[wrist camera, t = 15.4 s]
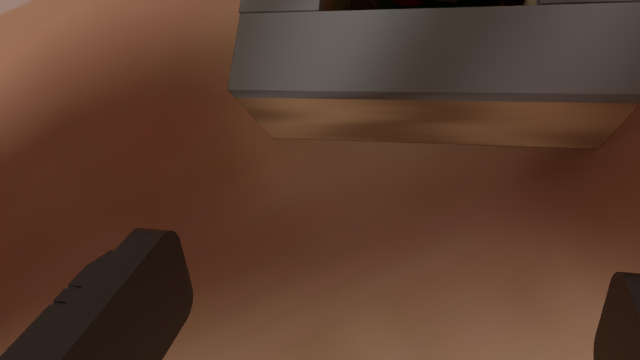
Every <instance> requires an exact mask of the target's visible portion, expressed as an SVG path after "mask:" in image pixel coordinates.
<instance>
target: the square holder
mask: <svg viewBox="0 0 640 360" xmlns="http://www.w3.org/2000/svg"><path fill="white" fill-rule="evenodd" d="M351 8H352V0H241V2H240V8H239V13H240V18H239V24H238V30H237V36H236V42H235V48H234V54H233V60H232V66H231V72H230V78H229V84H228V91H229V92H230V93H231V94H232V95H233V96H234V97H235V99H236V100H237V101H238V102H239V103H240V104H241V105H242V106H243V107H244V108H245V109H246V110H247V111H248V112H249V113H250V115H251V116H252V117H253V118H254V119H255V120H256V121H257V122H258V123H259V124H260V125H261V126H262V127H263V128H264V129H265V131H266V132H267V133H268V134H269V135H270V136H271V137H272V138H295V139H324V140H353V141H383V142H412V143H441V144H470V145H499V146H528V147H557V148H586V149H599V148H600V147H601V146H602V145H603V144H604V142H605V141H606V140H607V139H608V138H609V137H610V136H611V135H612V134H613V133H614V132H615V130H616V129H617V128H618V127H619V126H620V125H621V124H622V123H623V122H624V121H625V120H626V118H627V117H628V116H629V115H630V114H631V113H632V112H633V111H634V110H635V109H636V108H637V106H638V105H639V104H640V0H520V6H491V7H456V8H421V9H386V10H351Z"/></svg>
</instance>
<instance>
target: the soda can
mask: <svg viewBox="0 0 640 360" xmlns="http://www.w3.org/2000/svg"><path fill="white" fill-rule="evenodd" d="M504 2H505V0H372V4H373V8H374V10H386V9H421V8H456V7H491V6H504Z"/></svg>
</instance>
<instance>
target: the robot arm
mask: <svg viewBox="0 0 640 360" xmlns="http://www.w3.org/2000/svg"><path fill="white" fill-rule="evenodd" d="M53 301H54V303H53V305H49V306H48V307H47V308H46V309H45V310H44V311H43V312H42V313H41V314H40V315H39V316H38V317H37V318H36V319H35V321H34V322H33V323H32V324H31V325H30V326H29V327H28V328H27V329H26V330H25V331H24V332H23V333H22V334H21V335H20V336H19V337H18V338H17V340H16V341H15V342H14V343H13V344H12V345H11V346H10V347H9V348H8V349H7V350H6V351H5V352H4V353H3V354H2V355H1V356H0V360H162V359H163V357H164V356H165V354H166V353H167V351H168V349H169V348H170V346H171V344H172V343H173V341H174V339H175V338H176V336H177V335H178V333H179V331H180V330H181V328H182V326H183V325H184V323H185V322H186V320H187V318H188V316H189V313H190V310H191V307H192V301H193V289H192V285H191V281H190V277H189V273H188V269H187V265H186V262H185V258H184V254H183V250H182V246H181V242H180V239H179V237H178V235H177V234H176V233H175V232H174V231H167V230H156V229H144V228H138V229H135V230H133V231H132V232H131V233H130V234H129V235H128V236H127V238H126V239H125V240H124V241H123V242H122V243H121V244H120V245H119V246H118V247H117V249H116V250H115V251H109V252H107V253H106V254H104V255H103V256H101V257H100V258H98V259H96V260H95V261H93V262H92V263H90V264H88V265H87V266H86V267H85V268H84V269H83V270H82V271H81V272H80V273H79V274H78V275H77V276H76V277H75V278H74V279H73V280H72V281H71V283H70V284H69V287H68V289H64V290H63V291H62V292H61V293H60V294H59V295H58V296H57V297H56V298H55V299H54V300H53ZM594 360H640V274H638V273H627V272H616V273H615V274H614V275H613V277H612V279H611V282H610V285H609V289H608V292H607V296H606V299H605V303H604V307H603V310H602V314H601V317H600V321H599V325H598V328H597V332H596V336H595V341H594Z"/></svg>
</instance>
